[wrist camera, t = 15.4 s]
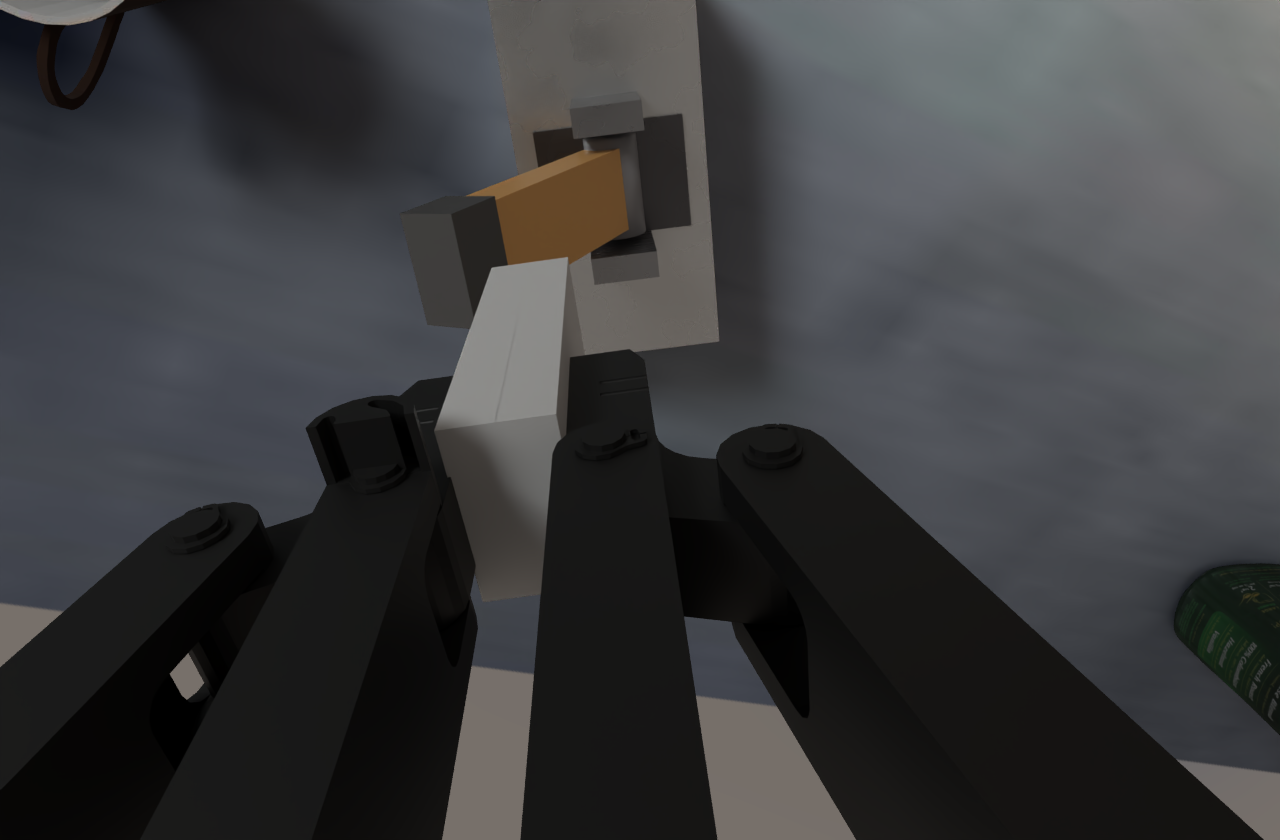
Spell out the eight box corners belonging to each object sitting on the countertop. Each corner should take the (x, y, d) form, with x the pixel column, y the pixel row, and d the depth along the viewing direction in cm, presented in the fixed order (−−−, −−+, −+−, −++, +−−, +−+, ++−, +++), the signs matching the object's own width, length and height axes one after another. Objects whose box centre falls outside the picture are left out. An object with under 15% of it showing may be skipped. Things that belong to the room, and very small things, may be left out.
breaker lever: (611, 225, 39) (426, 329, 29) (599, 132, 37) (396, 207, 27) (654, 226, 38) (479, 335, 28) (644, 130, 36) (451, 208, 26)
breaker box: (555, 322, 48) (548, 394, 39) (498, -18, 39) (471, -26, 31) (704, 304, 48) (731, 371, 39) (678, -41, 39) (704, -55, 30)
